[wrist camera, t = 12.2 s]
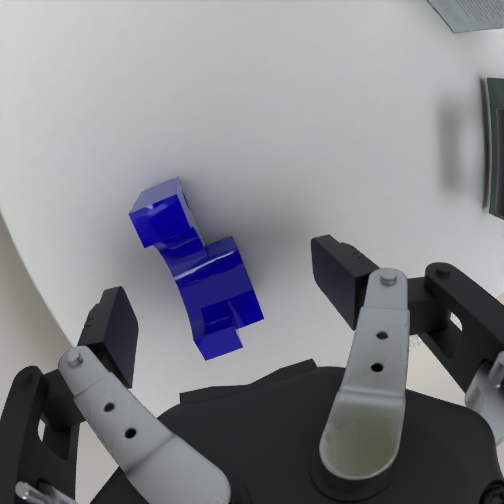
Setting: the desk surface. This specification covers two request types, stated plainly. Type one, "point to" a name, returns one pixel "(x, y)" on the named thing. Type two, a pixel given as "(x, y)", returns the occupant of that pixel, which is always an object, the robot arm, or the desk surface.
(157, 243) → the cable holder
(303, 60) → the desk surface
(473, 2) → the small box
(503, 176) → the drawer
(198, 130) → the desk surface
